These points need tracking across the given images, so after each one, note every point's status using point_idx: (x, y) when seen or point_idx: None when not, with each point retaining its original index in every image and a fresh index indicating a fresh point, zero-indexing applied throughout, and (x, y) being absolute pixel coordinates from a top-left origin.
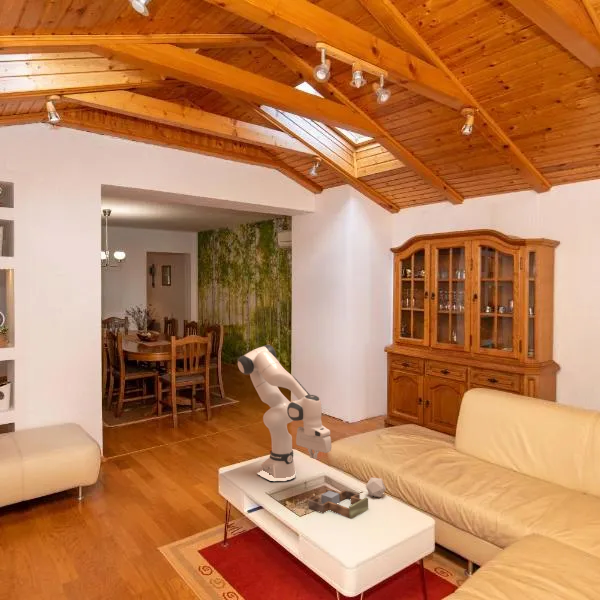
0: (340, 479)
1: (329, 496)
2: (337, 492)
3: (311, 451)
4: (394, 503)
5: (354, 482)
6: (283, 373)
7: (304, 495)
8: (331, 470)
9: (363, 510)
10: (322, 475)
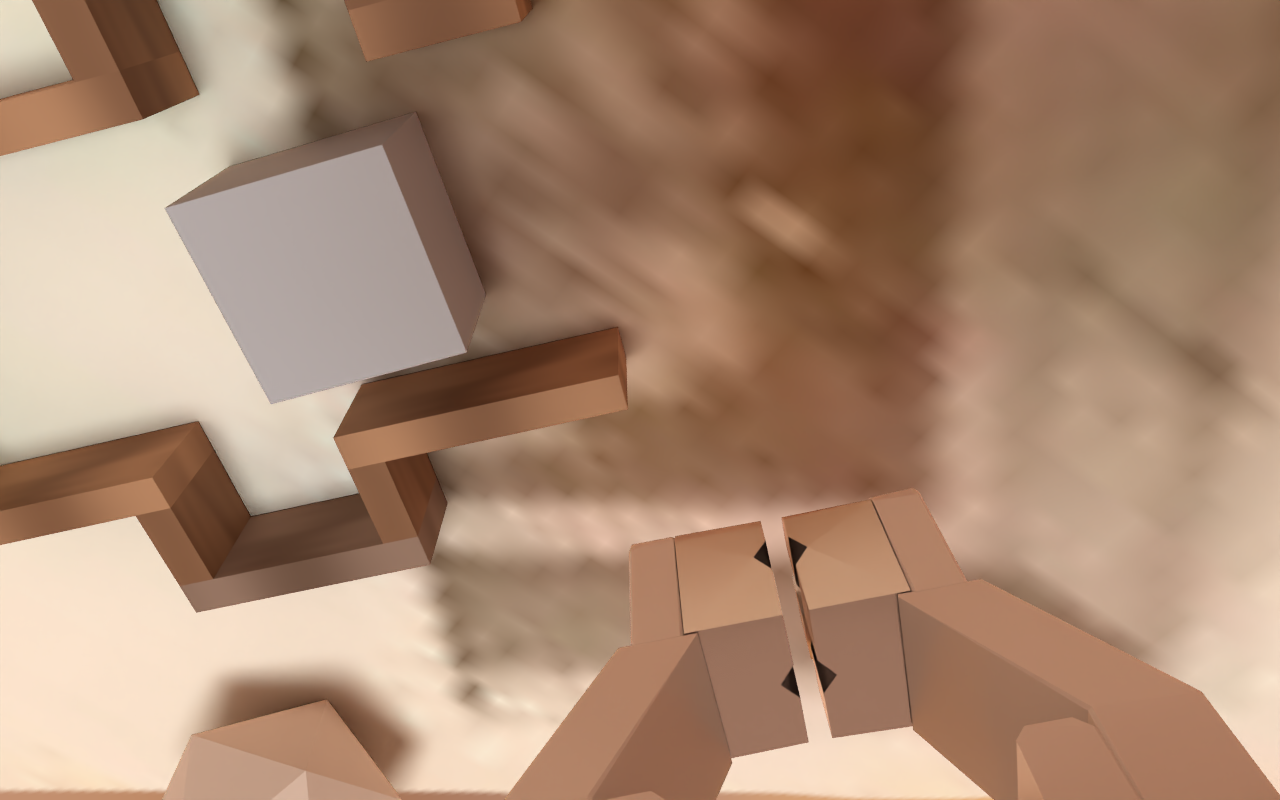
0: None
1: (239, 216)
2: (398, 431)
3: (1006, 759)
4: (35, 761)
5: (738, 773)
6: None
7: (856, 77)
8: None
9: None
10: (1178, 646)
